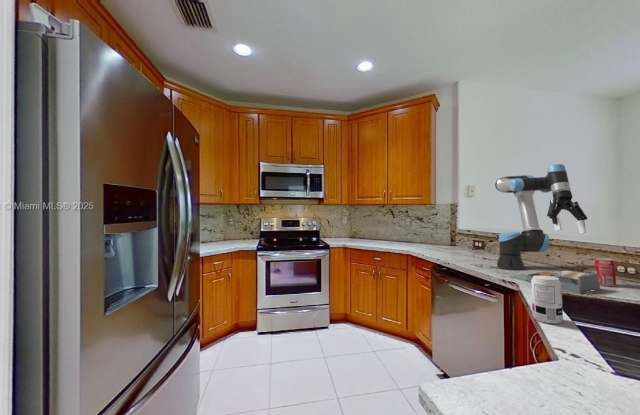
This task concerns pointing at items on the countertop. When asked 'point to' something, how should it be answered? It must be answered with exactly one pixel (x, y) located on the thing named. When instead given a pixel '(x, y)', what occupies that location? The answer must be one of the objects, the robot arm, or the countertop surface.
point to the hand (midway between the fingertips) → (570, 231)
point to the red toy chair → (605, 271)
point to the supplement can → (547, 299)
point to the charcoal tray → (576, 283)
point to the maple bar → (572, 274)
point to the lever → (556, 275)
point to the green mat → (520, 277)
